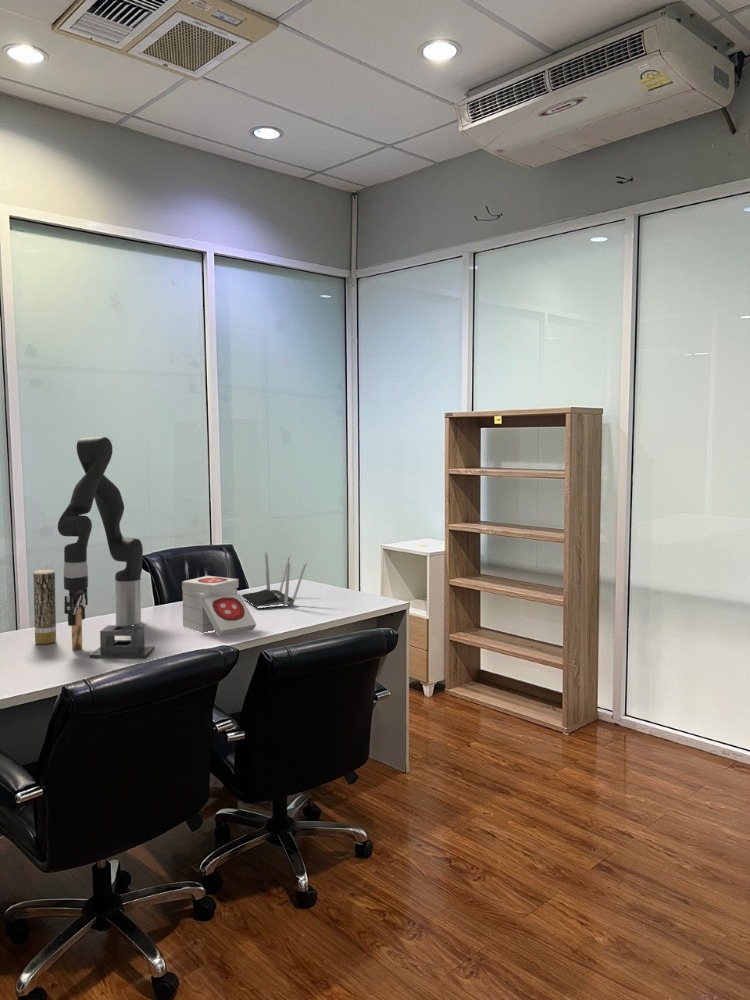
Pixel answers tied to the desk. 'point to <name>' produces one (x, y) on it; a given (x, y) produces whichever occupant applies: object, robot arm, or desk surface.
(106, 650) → the stand
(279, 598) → the wireless router
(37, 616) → the bark log
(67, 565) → the robot arm
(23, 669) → the desk surface
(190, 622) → the stack of pizza boxes
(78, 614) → the tan wooden rod
